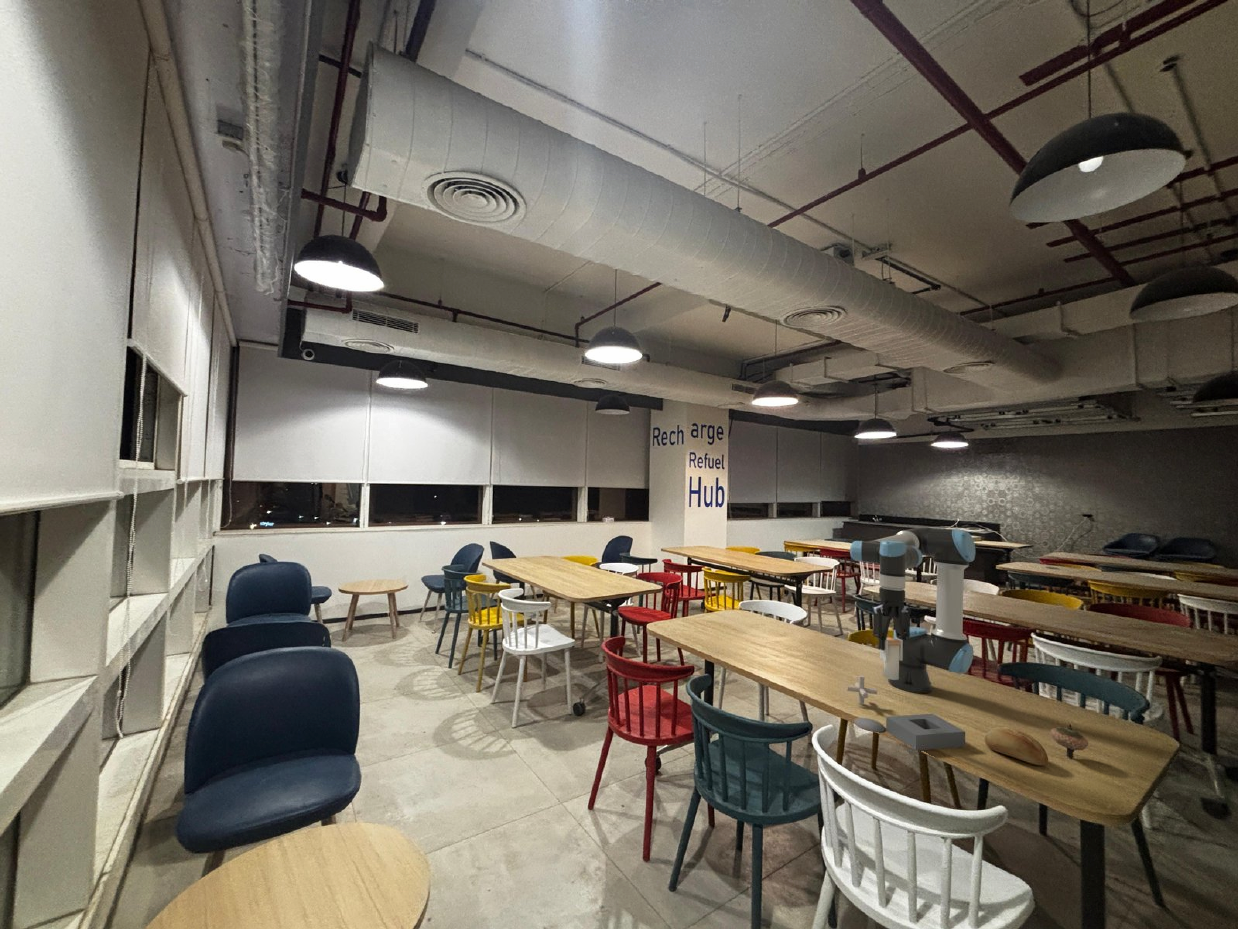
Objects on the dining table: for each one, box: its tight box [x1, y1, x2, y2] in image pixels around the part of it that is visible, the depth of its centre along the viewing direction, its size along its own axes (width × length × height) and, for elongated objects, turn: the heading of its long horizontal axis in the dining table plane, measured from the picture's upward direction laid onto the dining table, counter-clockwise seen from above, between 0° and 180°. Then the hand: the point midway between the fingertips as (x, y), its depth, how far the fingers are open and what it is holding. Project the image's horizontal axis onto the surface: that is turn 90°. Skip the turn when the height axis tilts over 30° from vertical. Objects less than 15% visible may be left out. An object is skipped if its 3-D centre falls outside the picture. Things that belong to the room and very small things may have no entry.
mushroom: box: [882, 636, 900, 680], centre depth 159 cm, size 5×5×12 cm
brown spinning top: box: [1050, 723, 1089, 759], centre depth 146 cm, size 8×8×10 cm
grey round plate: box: [853, 717, 886, 733], centre depth 161 cm, size 9×9×1 cm
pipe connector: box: [845, 675, 878, 706], centre depth 178 cm, size 10×10×10 cm
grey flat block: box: [885, 713, 966, 752], centre depth 154 cm, size 18×12×4 cm, turn 102°
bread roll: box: [984, 725, 1049, 766], centre depth 145 cm, size 10×15×8 cm, turn 39°
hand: (891, 659), depth 159 cm, fingers closed on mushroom, 5 cm apart
